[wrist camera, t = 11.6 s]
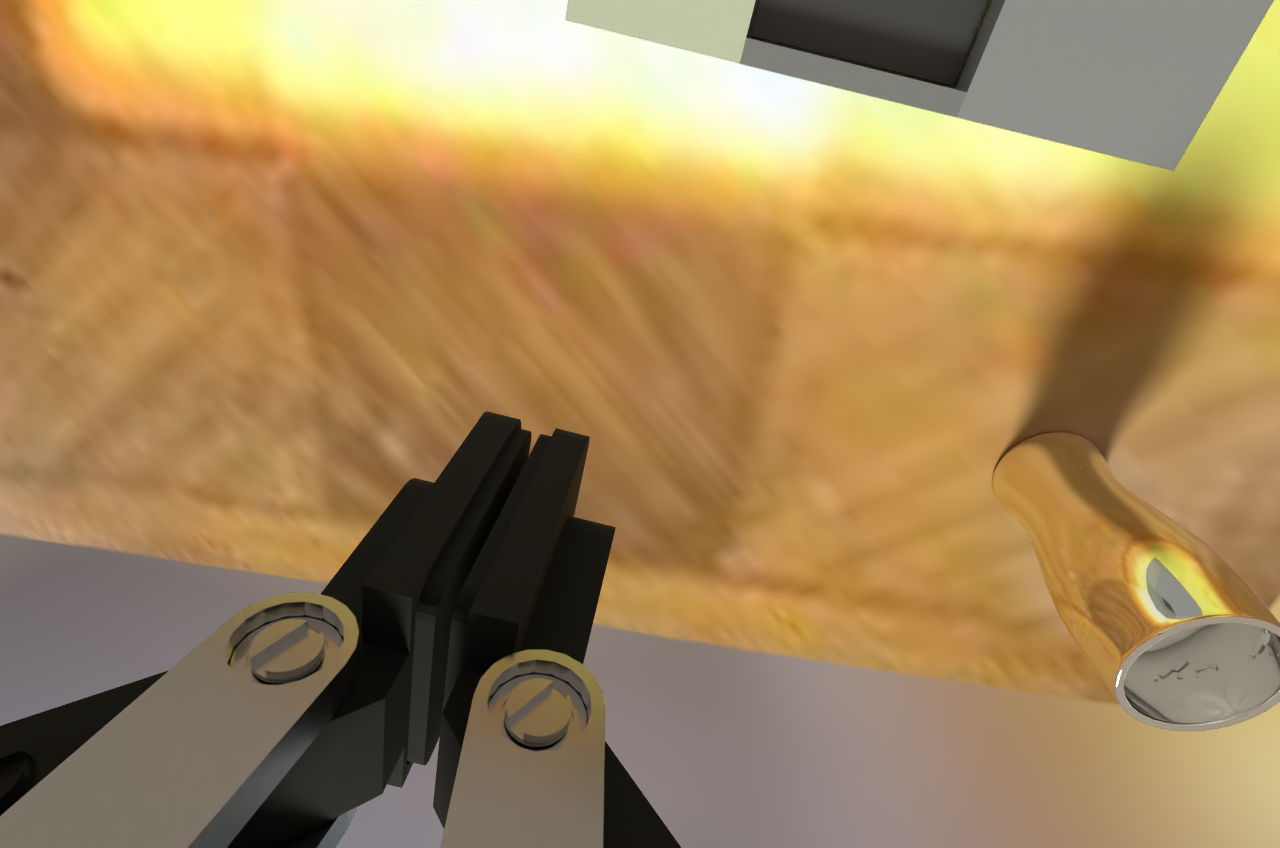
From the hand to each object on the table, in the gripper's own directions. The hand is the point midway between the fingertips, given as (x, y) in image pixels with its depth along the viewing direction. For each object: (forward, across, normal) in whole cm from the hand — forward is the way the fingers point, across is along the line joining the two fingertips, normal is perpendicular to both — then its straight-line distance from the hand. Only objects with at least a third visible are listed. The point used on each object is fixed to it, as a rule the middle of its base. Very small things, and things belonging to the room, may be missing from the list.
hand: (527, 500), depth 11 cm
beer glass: (+27, -26, +10) cm, 39 cm away
